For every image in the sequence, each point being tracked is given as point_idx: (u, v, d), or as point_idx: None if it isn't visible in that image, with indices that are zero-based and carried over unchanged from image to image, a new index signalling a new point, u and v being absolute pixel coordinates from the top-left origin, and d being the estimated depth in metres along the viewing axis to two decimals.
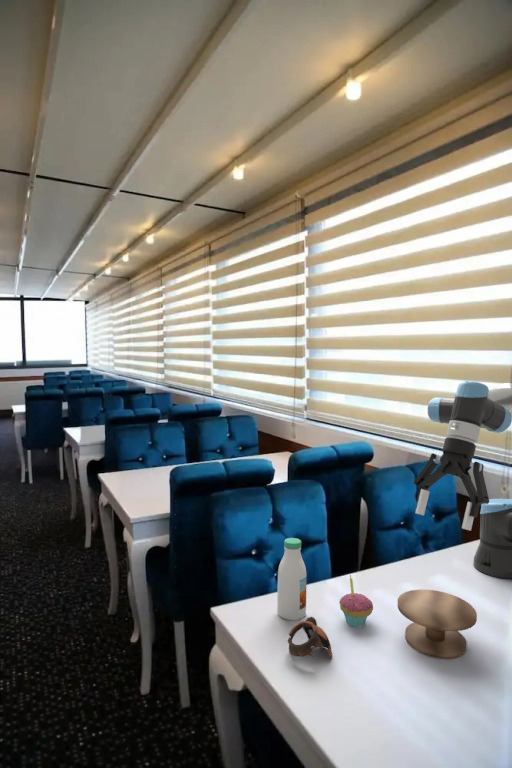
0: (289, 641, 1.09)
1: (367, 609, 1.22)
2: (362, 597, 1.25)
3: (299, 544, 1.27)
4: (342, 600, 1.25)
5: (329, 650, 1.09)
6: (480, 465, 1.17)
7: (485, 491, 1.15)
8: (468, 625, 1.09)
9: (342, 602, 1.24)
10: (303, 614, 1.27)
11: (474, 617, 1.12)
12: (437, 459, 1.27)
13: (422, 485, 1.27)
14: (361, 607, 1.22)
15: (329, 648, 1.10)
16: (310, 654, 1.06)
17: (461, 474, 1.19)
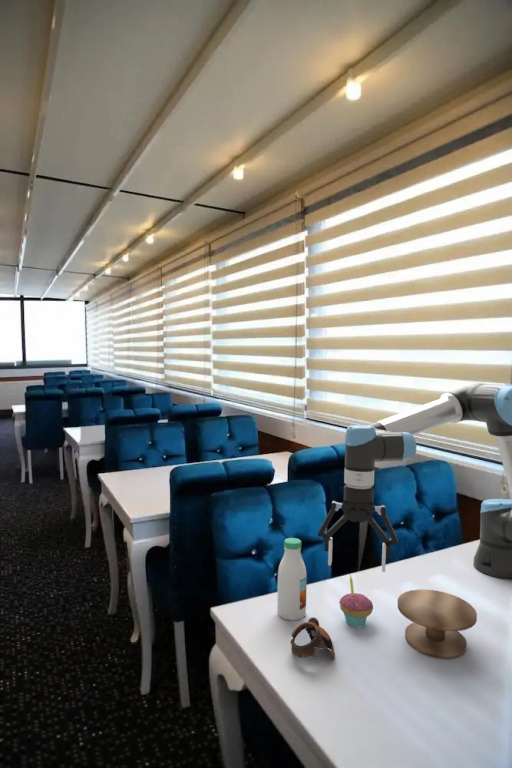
0: (292, 642, 1.09)
1: (367, 609, 1.22)
2: (362, 597, 1.25)
3: (299, 544, 1.27)
4: (342, 600, 1.25)
5: (332, 651, 1.09)
6: (385, 508, 1.22)
7: None
8: (468, 625, 1.09)
9: (342, 602, 1.24)
10: (303, 614, 1.27)
11: (474, 617, 1.12)
12: (338, 507, 1.25)
13: (329, 536, 1.25)
14: (361, 607, 1.22)
15: (331, 649, 1.09)
16: (313, 655, 1.06)
17: (371, 522, 1.22)
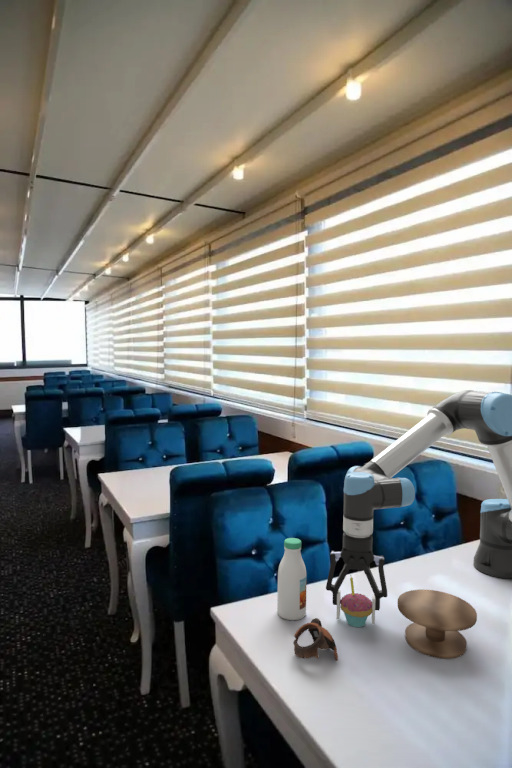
0: (295, 643, 1.09)
1: (368, 609, 1.22)
2: (362, 597, 1.25)
3: (299, 544, 1.27)
4: (342, 600, 1.25)
5: (335, 651, 1.09)
6: None
7: None
8: (468, 625, 1.09)
9: (342, 602, 1.24)
10: (303, 614, 1.27)
11: (474, 617, 1.12)
12: (337, 557, 1.25)
13: (336, 590, 1.25)
14: (361, 607, 1.22)
15: (334, 649, 1.09)
16: (316, 656, 1.05)
17: (367, 572, 1.22)
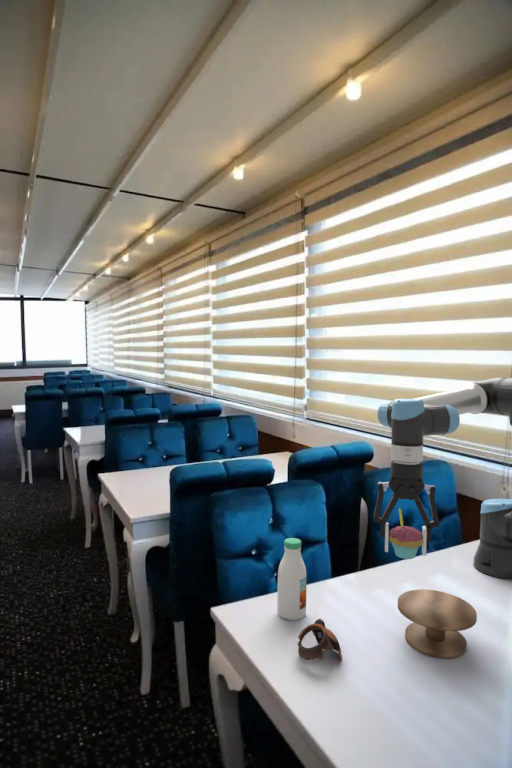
0: (299, 644, 1.08)
1: (419, 540, 1.16)
2: (412, 528, 1.19)
3: (299, 544, 1.27)
4: (391, 532, 1.20)
5: (339, 653, 1.08)
6: None
7: None
8: (468, 625, 1.09)
9: (391, 534, 1.19)
10: (303, 614, 1.27)
11: (474, 617, 1.12)
12: (385, 487, 1.20)
13: (385, 521, 1.19)
14: (412, 537, 1.16)
15: (339, 650, 1.09)
16: (321, 657, 1.05)
17: (418, 501, 1.17)
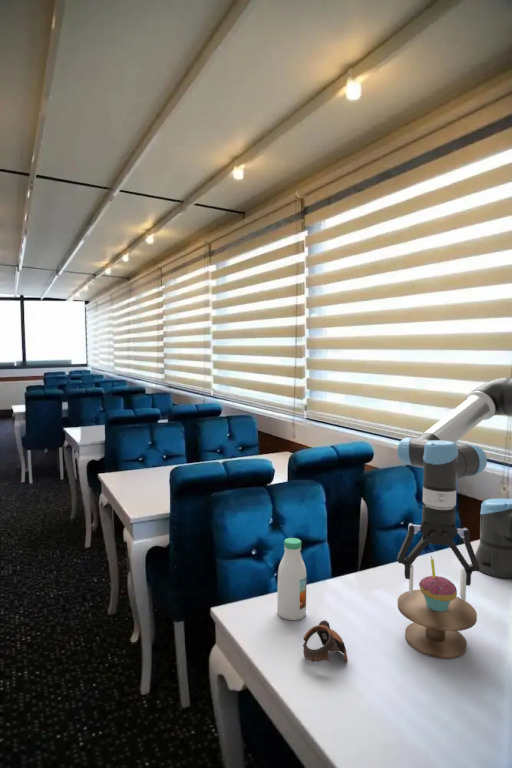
0: (304, 646, 1.08)
1: (453, 593, 1.13)
2: (445, 580, 1.16)
3: (299, 544, 1.27)
4: (423, 583, 1.16)
5: (345, 654, 1.08)
6: None
7: None
8: (468, 625, 1.09)
9: (423, 585, 1.16)
10: (303, 614, 1.27)
11: (474, 617, 1.12)
12: (416, 530, 1.17)
13: (410, 563, 1.17)
14: (445, 590, 1.13)
15: (344, 652, 1.08)
16: (327, 659, 1.04)
17: (453, 545, 1.14)
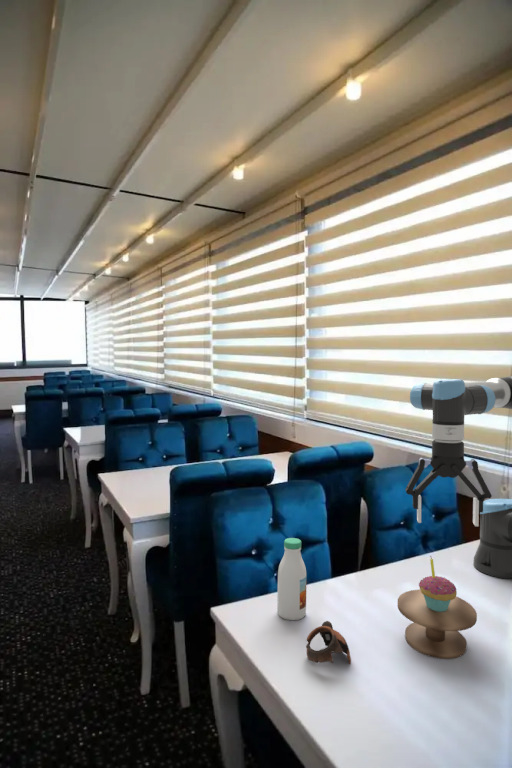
0: (308, 647, 1.07)
1: (452, 592, 1.13)
2: (444, 580, 1.16)
3: (299, 544, 1.27)
4: (423, 583, 1.16)
5: (348, 655, 1.08)
6: None
7: None
8: (468, 625, 1.09)
9: (423, 585, 1.16)
10: (303, 614, 1.27)
11: (474, 617, 1.12)
12: (426, 463, 1.22)
13: (418, 493, 1.23)
14: (445, 590, 1.13)
15: (347, 652, 1.08)
16: (330, 660, 1.04)
17: (463, 476, 1.19)
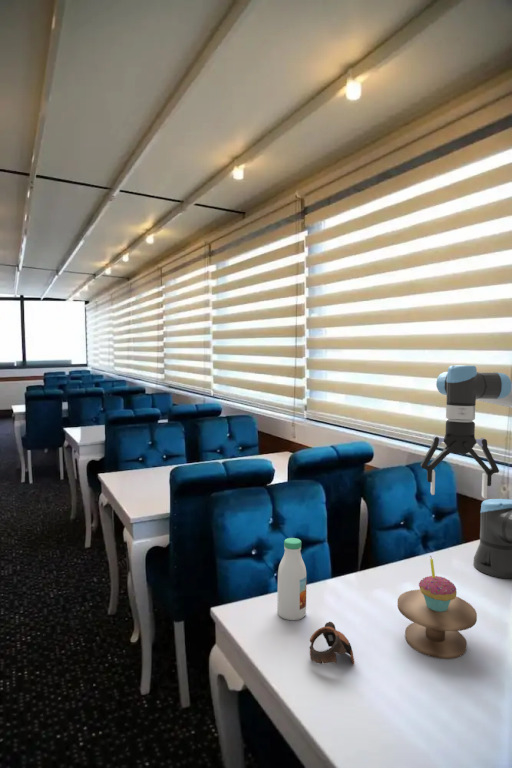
0: (311, 648, 1.07)
1: (452, 592, 1.13)
2: (444, 580, 1.16)
3: (299, 544, 1.27)
4: (423, 583, 1.16)
5: (351, 655, 1.07)
6: None
7: None
8: (468, 625, 1.09)
9: (423, 585, 1.16)
10: (303, 614, 1.27)
11: (474, 617, 1.12)
12: (440, 441, 1.35)
13: (432, 468, 1.35)
14: (445, 590, 1.13)
15: (351, 653, 1.08)
16: (334, 660, 1.04)
17: (473, 453, 1.32)
